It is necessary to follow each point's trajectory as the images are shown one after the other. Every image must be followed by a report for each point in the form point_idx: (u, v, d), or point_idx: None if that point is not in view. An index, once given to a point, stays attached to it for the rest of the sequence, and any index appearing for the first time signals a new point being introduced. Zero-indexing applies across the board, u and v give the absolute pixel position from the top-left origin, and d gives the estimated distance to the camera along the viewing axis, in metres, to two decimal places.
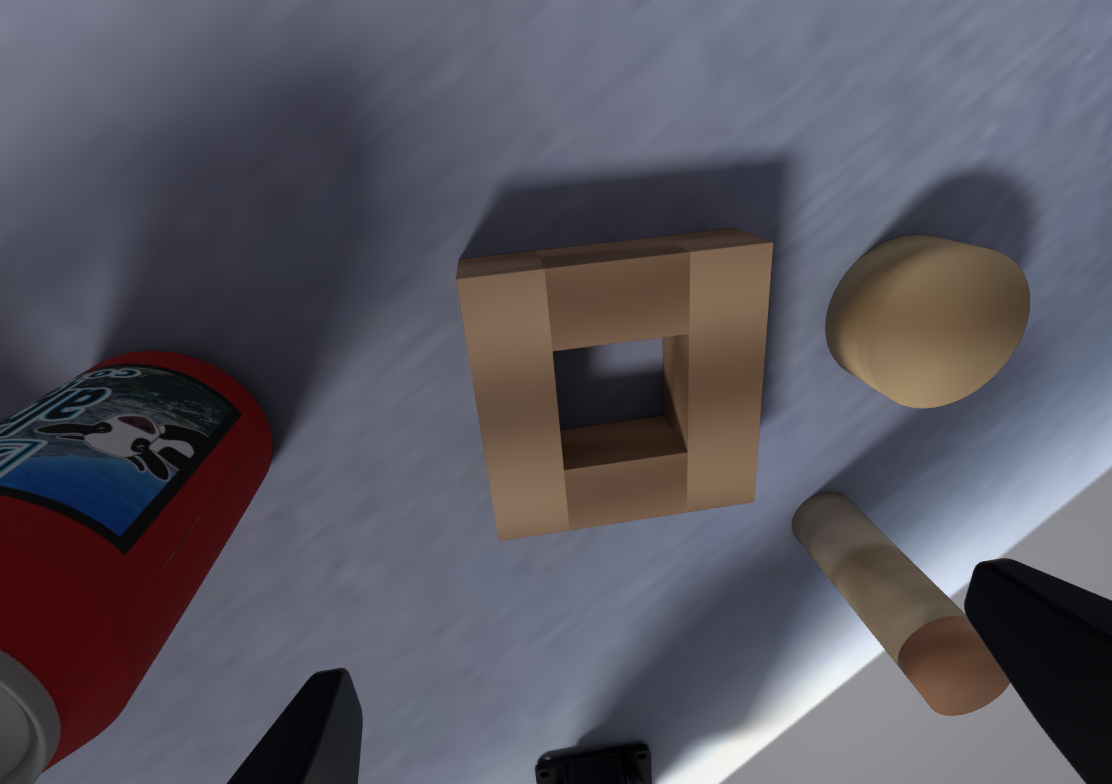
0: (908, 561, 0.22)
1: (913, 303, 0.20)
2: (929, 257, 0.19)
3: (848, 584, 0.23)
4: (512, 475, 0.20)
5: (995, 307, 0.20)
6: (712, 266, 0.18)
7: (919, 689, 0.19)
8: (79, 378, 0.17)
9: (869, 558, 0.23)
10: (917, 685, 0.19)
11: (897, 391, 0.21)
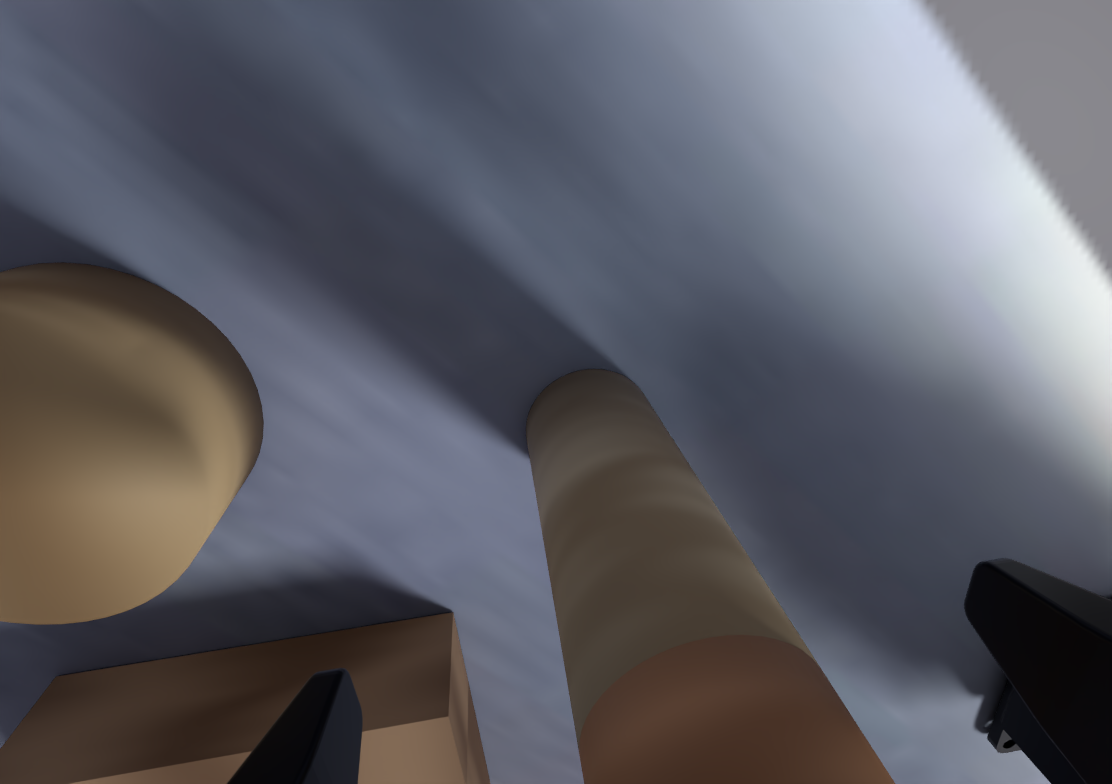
0: (557, 539, 0.09)
1: None
2: None
3: None
4: None
5: None
6: None
7: None
8: None
9: None
10: None
11: (176, 544, 0.10)
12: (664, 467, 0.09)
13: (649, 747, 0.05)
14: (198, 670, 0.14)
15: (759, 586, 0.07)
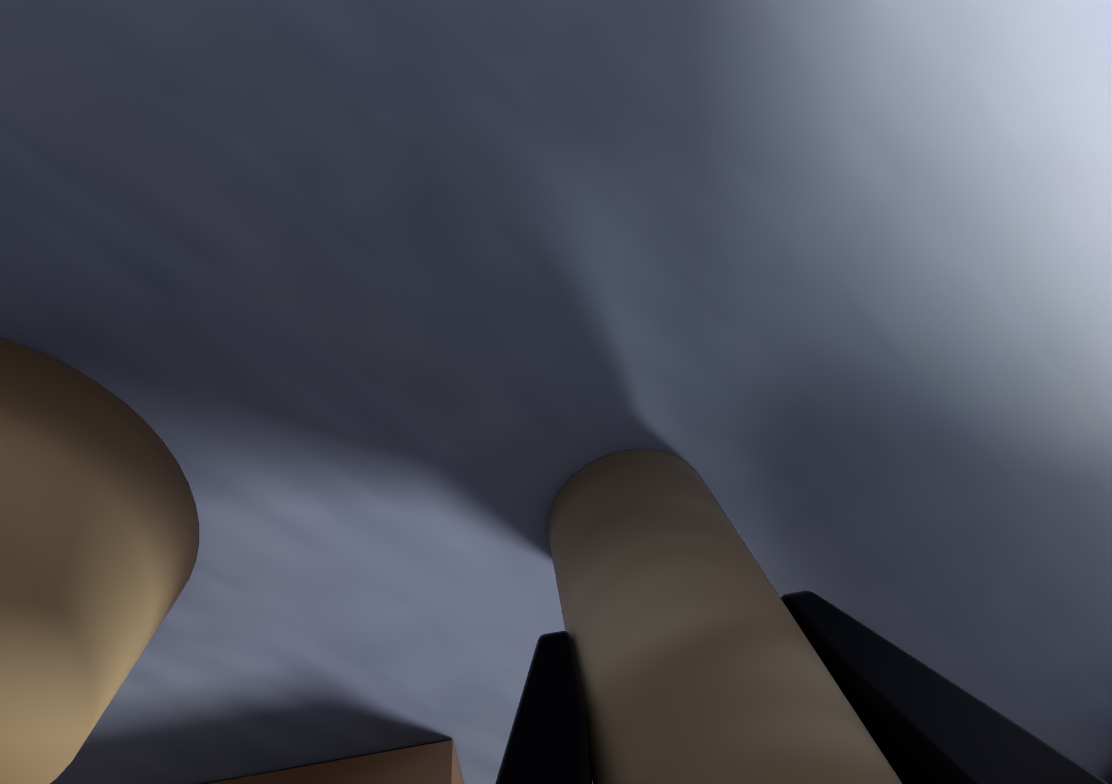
0: (614, 771, 0.06)
1: None
2: None
3: None
4: None
5: None
6: None
7: None
8: None
9: None
10: None
11: (51, 734, 0.07)
12: (773, 647, 0.06)
13: None
14: None
15: None
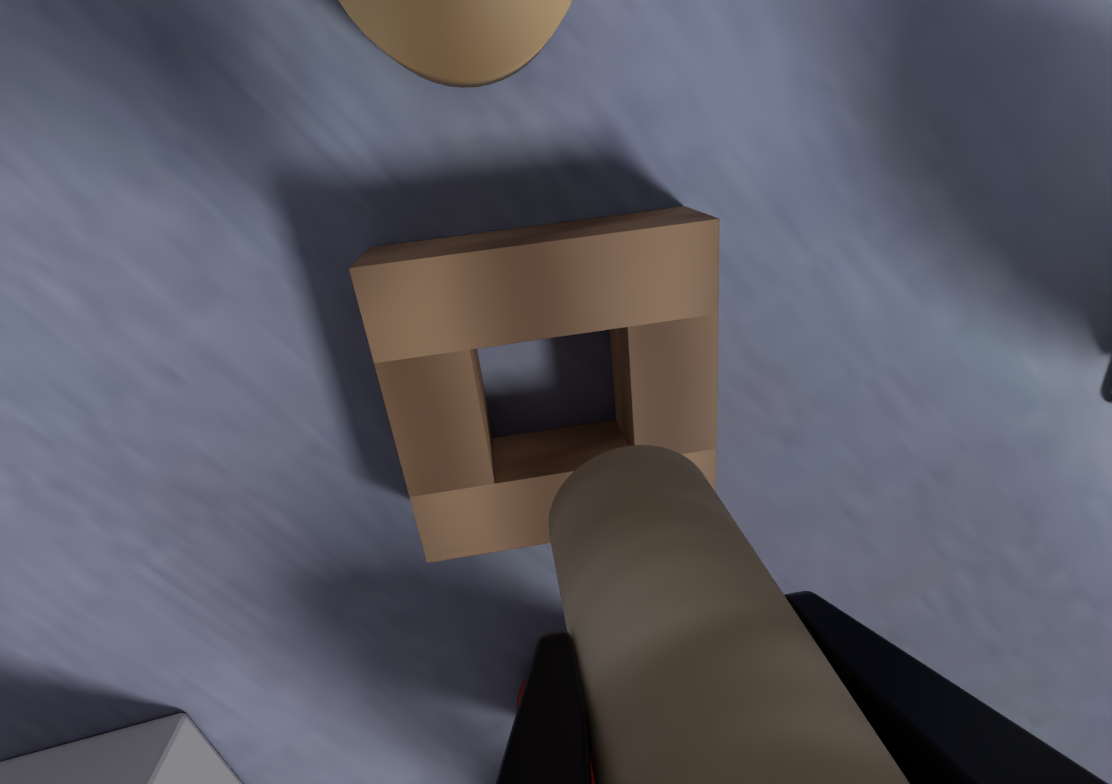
0: (615, 766, 0.06)
1: (407, 16, 0.13)
2: (339, 0, 0.13)
3: None
4: None
5: None
6: (387, 335, 0.16)
7: None
8: None
9: None
10: None
11: None
12: (776, 642, 0.06)
13: None
14: (488, 234, 0.17)
15: None
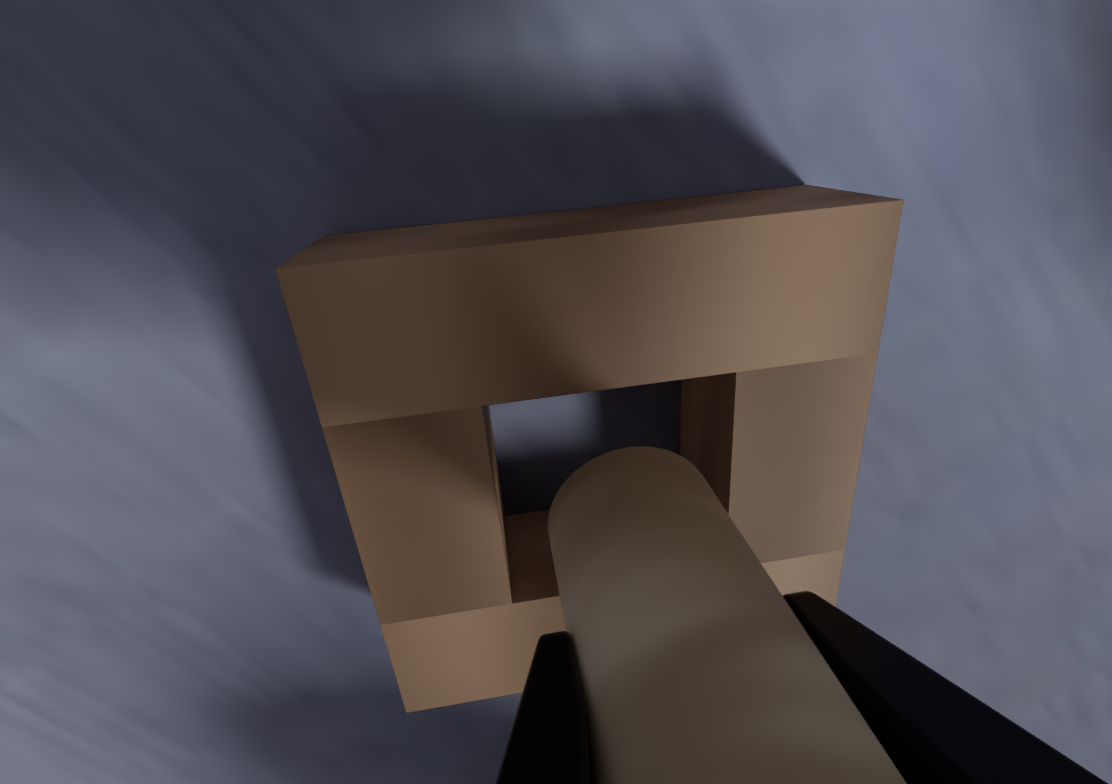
0: (614, 768, 0.06)
1: None
2: None
3: None
4: None
5: None
6: (344, 383, 0.09)
7: None
8: None
9: None
10: None
11: None
12: (775, 643, 0.06)
13: None
14: (511, 219, 0.11)
15: None
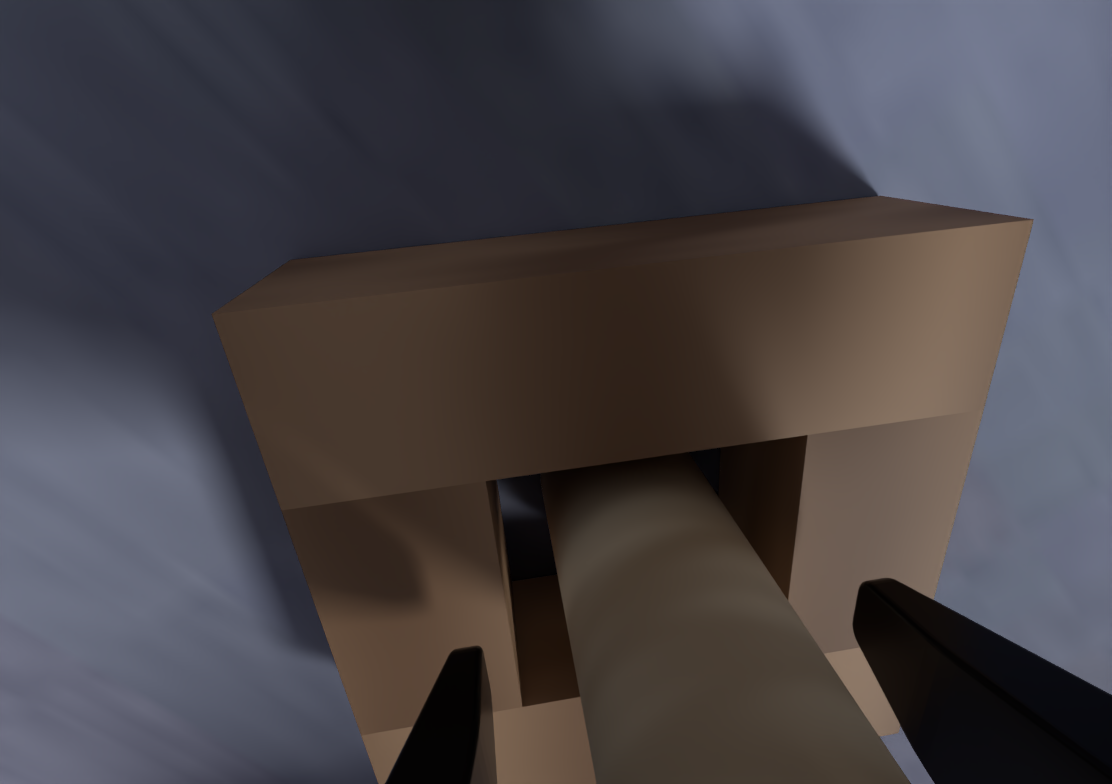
0: (590, 645, 0.07)
1: None
2: None
3: None
4: None
5: None
6: (309, 456, 0.07)
7: None
8: None
9: None
10: None
11: None
12: (722, 548, 0.07)
13: None
14: (522, 240, 0.09)
15: (872, 741, 0.05)
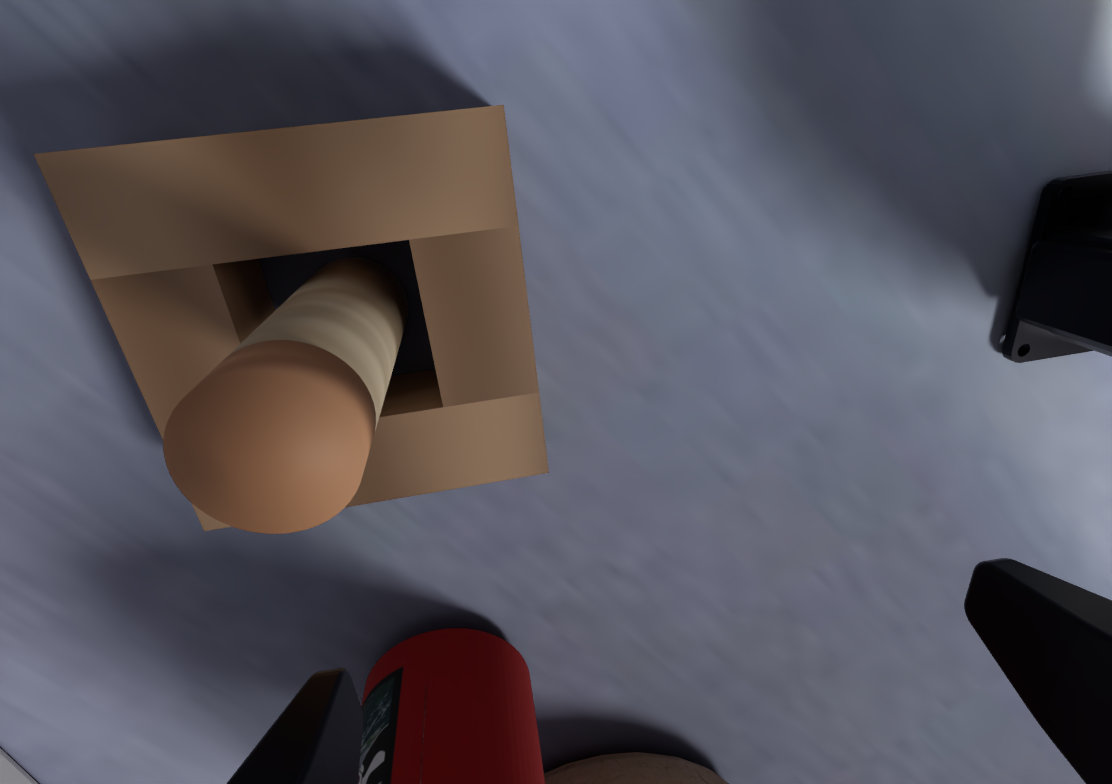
0: None
1: None
2: None
3: None
4: (451, 464, 0.17)
5: None
6: (101, 244, 0.13)
7: None
8: None
9: None
10: None
11: None
12: (338, 293, 0.13)
13: None
14: None
15: (341, 336, 0.11)
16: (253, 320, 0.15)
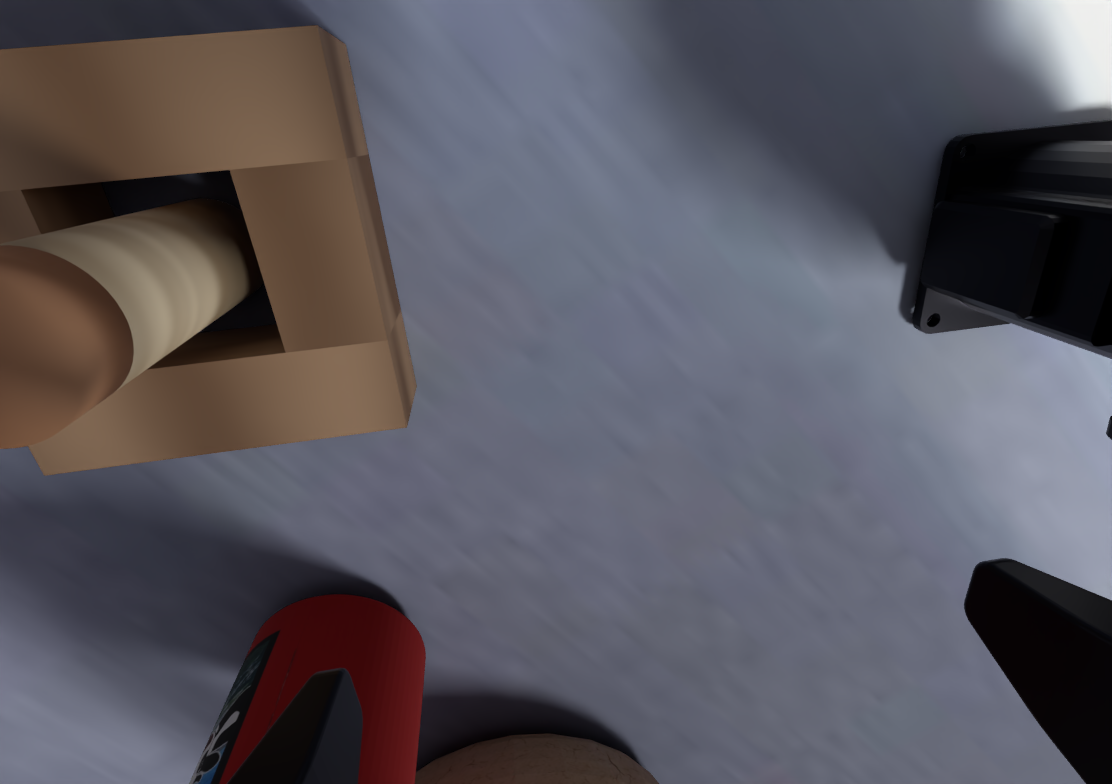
0: None
1: None
2: None
3: None
4: (300, 414, 0.16)
5: None
6: None
7: None
8: None
9: None
10: None
11: None
12: (143, 220, 0.13)
13: None
14: None
15: (104, 252, 0.10)
16: None
